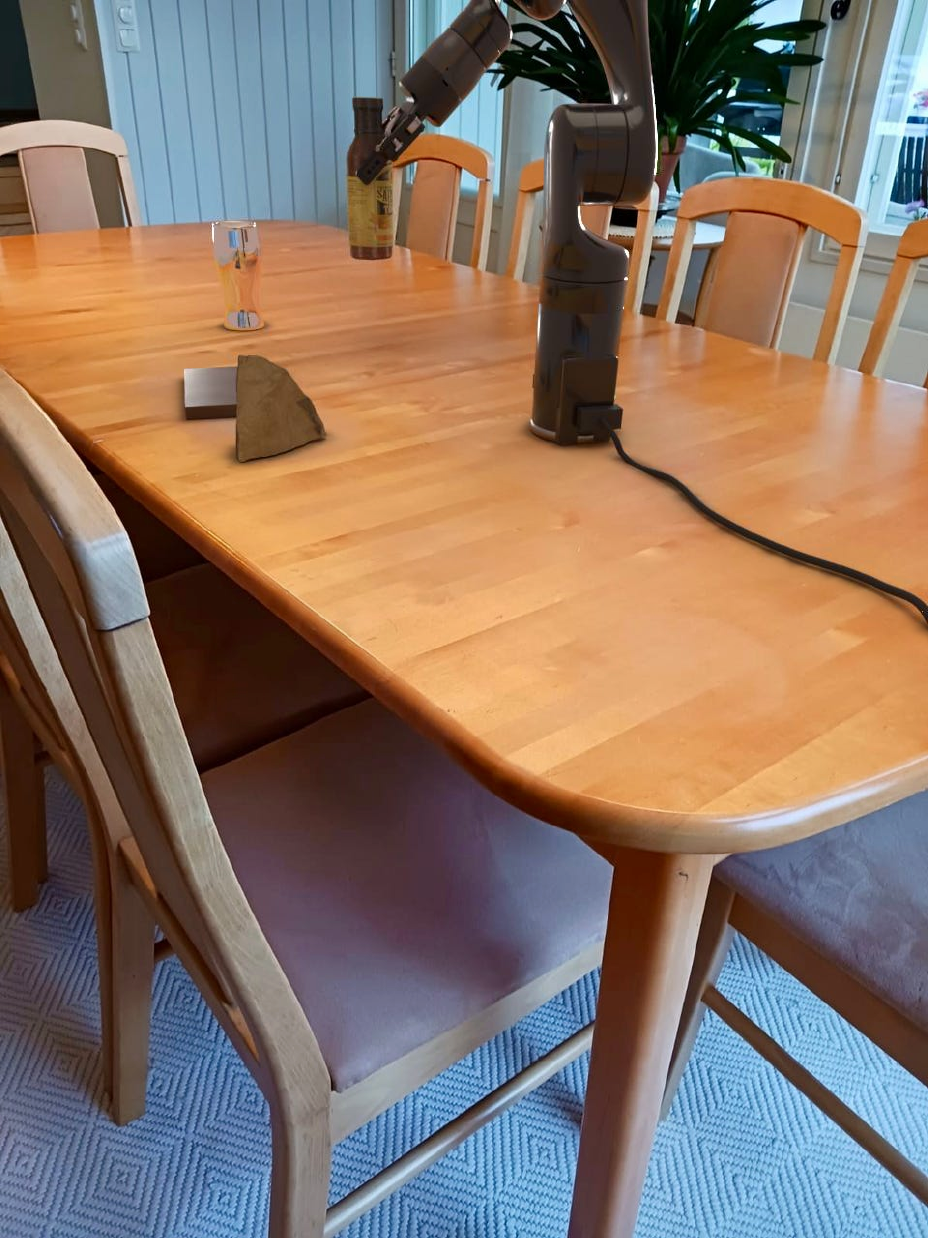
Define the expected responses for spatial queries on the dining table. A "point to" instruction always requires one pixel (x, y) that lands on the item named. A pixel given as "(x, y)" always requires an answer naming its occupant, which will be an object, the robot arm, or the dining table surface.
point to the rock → (271, 410)
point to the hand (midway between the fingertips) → (357, 177)
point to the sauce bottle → (368, 187)
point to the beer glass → (239, 272)
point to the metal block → (210, 392)
